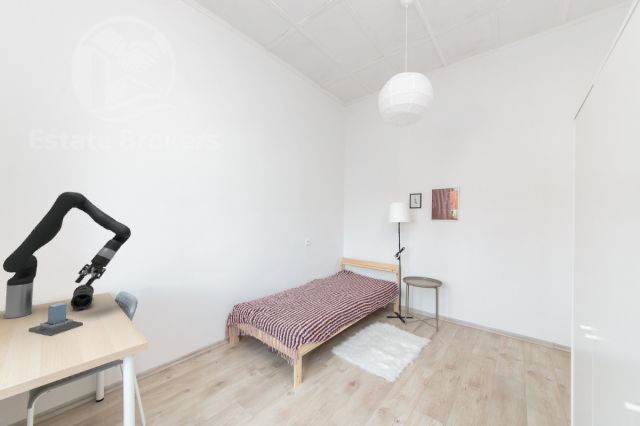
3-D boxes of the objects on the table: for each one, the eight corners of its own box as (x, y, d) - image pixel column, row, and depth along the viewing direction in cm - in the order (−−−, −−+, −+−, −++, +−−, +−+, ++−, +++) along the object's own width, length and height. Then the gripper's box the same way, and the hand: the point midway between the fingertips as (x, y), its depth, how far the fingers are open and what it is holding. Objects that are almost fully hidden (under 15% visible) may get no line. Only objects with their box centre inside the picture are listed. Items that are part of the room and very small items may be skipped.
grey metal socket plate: (28, 331, 113) (28, 324, 113) (61, 321, 124) (62, 314, 125) (50, 336, 109) (50, 328, 109) (82, 325, 120) (83, 318, 120)
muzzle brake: (69, 313, 136) (70, 294, 136) (73, 300, 156) (74, 284, 157) (92, 309, 142) (93, 291, 143) (93, 297, 163) (94, 282, 163)
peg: (47, 326, 115) (48, 305, 115) (59, 323, 119) (60, 302, 120) (53, 328, 114) (54, 306, 114) (65, 324, 118) (66, 303, 119)
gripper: (89, 252, 137) (66, 279, 128) (106, 255, 132) (83, 283, 124) (101, 258, 143) (80, 284, 134) (118, 261, 138) (97, 288, 129)
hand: (81, 284), depth 129 cm, fingers open, 8 cm apart
